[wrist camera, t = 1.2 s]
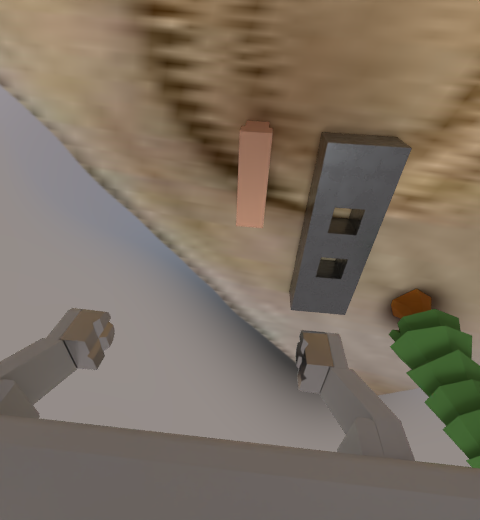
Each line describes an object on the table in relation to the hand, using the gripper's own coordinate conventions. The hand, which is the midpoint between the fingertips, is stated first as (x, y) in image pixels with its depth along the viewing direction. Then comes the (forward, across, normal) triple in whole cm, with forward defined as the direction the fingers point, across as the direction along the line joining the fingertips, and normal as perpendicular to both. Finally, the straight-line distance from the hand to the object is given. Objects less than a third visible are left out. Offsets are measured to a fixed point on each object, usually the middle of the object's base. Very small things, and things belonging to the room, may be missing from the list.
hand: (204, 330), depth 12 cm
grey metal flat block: (+26, -12, +9) cm, 30 cm away
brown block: (+26, -1, +1) cm, 26 cm away
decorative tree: (+27, -27, +22) cm, 44 cm away
